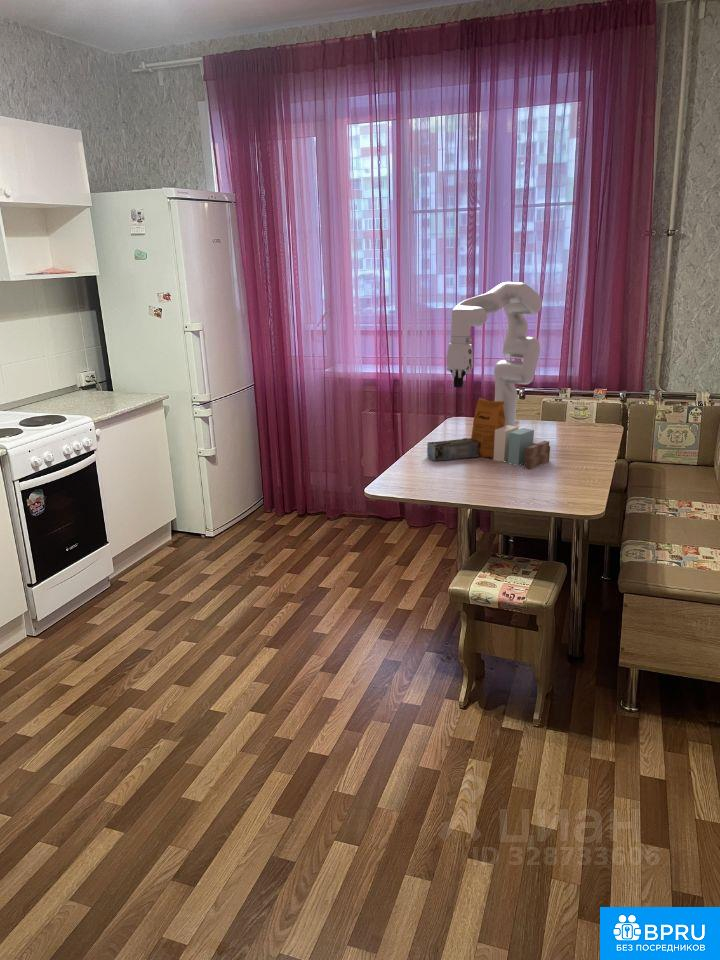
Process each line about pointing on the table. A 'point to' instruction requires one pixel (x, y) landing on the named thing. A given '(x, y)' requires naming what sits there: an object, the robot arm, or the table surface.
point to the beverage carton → (452, 449)
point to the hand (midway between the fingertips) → (458, 386)
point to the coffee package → (487, 425)
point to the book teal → (519, 445)
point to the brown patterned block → (537, 454)
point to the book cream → (502, 442)
